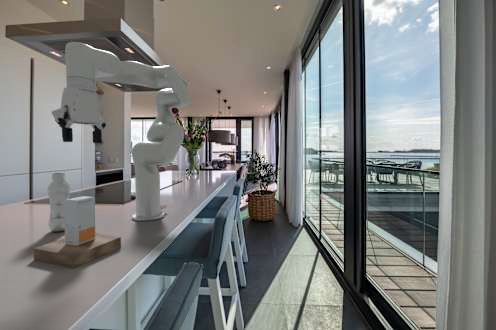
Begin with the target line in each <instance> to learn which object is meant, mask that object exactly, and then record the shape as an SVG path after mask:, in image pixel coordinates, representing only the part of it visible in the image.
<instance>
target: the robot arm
mask: <svg viewBox="0 0 496 330" xmlns="http://www.w3.org/2000/svg"><path fill="white" fill-rule="evenodd" d="M64 51H65V77H66V78H65V79H66V81H65V82H66V87H64V88H63V90H62V95H61V99H60V100H61V102H60V108H58V109H55V110H52V111H51V114H52V117H53V118H54V121H55V122H56V124H57V125H58V126H59V128H61V136H62V137H61V138H62V142H64V143H72V142H73V139H74V138H73V136H74V135H73V128H72V125H73V124H78V125H87V126H88V125H90V126H91V128H92V129H93V130H92V143H93V144H102V143H103V141H102V140H103V139H102V138H103V137H102V132H103V131H104V129H105V128H106V126H107V124H108V120H109V119H108V117H106V116H105V115H104V114H103V113H102V112H101V104H100V99H99V98H100V97H99V95H98V92H97V91H98V90H99V87H98V86H97V85H96V81H99V82H104V83H117V84H124V85H135V86H142V87H147V88H152V89H161V88H162V89H161V90H158V91H157V92H156V93H155V95H154V103H155V106H156V111H157V116H156V117H155V119H154V121H152V124H151V125H150V127H149V128H148V131H147V134H146V139H147V141H144V140H143V141H139V142H137V143H135V144H134V145H133V147H132V149H131V150H132V151H131V158H132V161H133V166H134V178H135V179H134V180H135V184H134V185H135V213H134V214H132V215H131V219H132V220H134V221H142V222H145V221H154V220H159V219H161V218H164V216H165V213H164V212H163V211H162V210H164V209H166V208H167V207H168V206H167V204H166V203H164V204H161V176H160V175H161V174H160V171H159V169H158V167H157V166H158V165H160V166H163V165H164V166H165V165H166V166H167V165H171V163H173V161H174V160H175V159H176V156H177V155H178V152H179V150H180V149H181V146H182V145H183V142H184V138H185V131H184V128H183V126H182V124H180V123H178V122H176V116H175V114H174V112H173V110H172V109H173V108H185V107H187V106H189V105H190V103H191V101H192V100H191V98H192V97H191V94H190V90H189V89H188V86H186V84H185V82H184V81H183V79H182V77H181V75H179V73H178V71H177V70H176V69H175V68H174V67H173V66H171V65H162V66H152V65H149V64H145V63H143V62H140V61H139V62H138V61H135V60H123V61H121V60H120V58H119V57H118V56H117V55H116V54H114V53H112V52H110V51H107V50H103V49H98V48H94V47H93V46H91V45H88V44H86V43H83V42H80V41H79V42H77V41H70V42H67V43H66V44H65V50H64Z"/></svg>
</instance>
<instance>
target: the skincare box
mask: <svg viewBox="0 0 496 330" xmlns="http://www.w3.org/2000/svg"><path fill="white" fill-rule="evenodd" d="M64 225H65V230H64V238H65V244H66V245H74V246H78V245H80V244H83V243H85V242H88V241H91V240H94V239H95V238H96V234H97V233H96V197H95V196H88V195H87V196H86V195H85V196H84V195H83V196H77V197H72V198H69V199H67V200H64Z"/></svg>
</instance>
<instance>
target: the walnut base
mask: <svg viewBox="0 0 496 330" xmlns="http://www.w3.org/2000/svg"><path fill="white" fill-rule="evenodd" d="M120 248H122V237H121V236H115V235H111V234H110V235H108V234H102V233H96V238H95V239H94V240H91V241H88V242H85V243H83V244H80V245H78V246H74V245H66V244H65V237H64V238H62V239H58V240H56V241H55V240H54V241H52V242H49V243H45V244H43V245H39V246H36V247H34V248H33V261H38V262H40V263H41V262H42V263H47V264H51V265H52V264H53V265H56V266H61V267H65V268H70V269H76V268H78V267H80V266H82V265H84V264H87V263H88V262H91V261H93V260H95V259H98V258H100V257H102V256H105V255H106V254H109V253H112V252H113V251H116V250H118V249H120Z"/></svg>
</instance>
